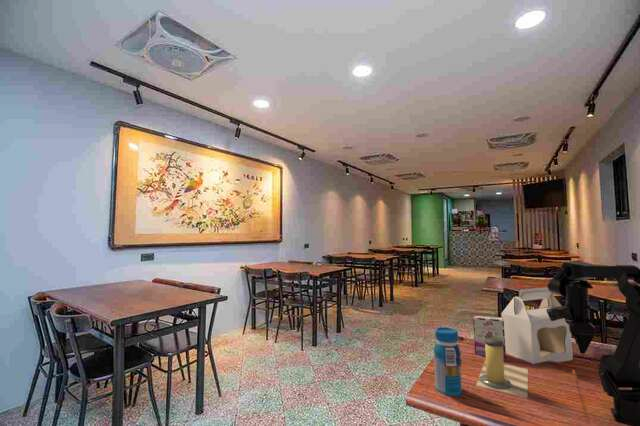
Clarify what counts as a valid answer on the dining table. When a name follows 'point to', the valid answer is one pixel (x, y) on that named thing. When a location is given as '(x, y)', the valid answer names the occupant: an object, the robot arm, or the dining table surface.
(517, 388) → the base board
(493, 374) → the yellow cylinder
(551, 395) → the dining table surface
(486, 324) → the candy bar box
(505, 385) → the slate seat
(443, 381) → the beverage bottle
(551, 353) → the gable box
